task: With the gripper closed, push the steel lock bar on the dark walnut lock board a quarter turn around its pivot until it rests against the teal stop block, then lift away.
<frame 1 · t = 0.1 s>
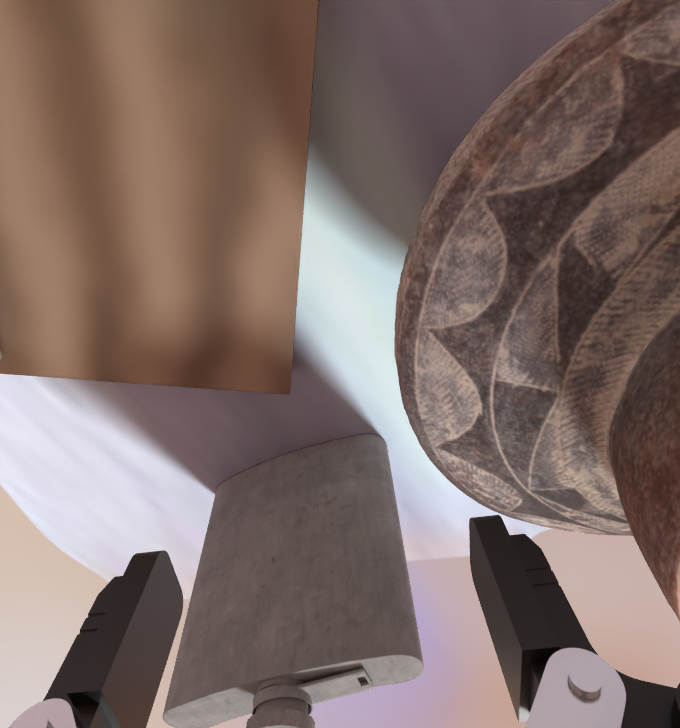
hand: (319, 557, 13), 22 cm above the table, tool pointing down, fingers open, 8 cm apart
ceramic pot: (560, 223, 31), on the table
hip flask: (297, 465, 42), on the table
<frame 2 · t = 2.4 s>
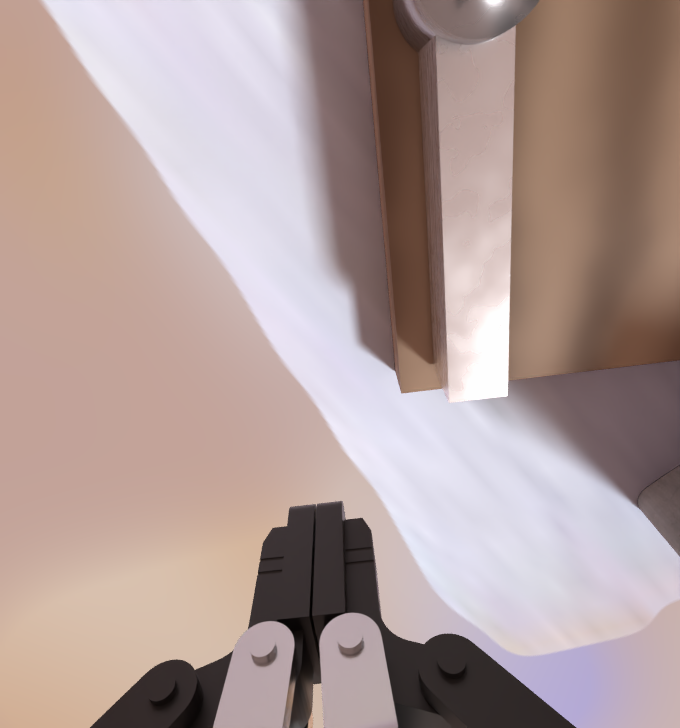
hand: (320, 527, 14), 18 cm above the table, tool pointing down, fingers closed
lock board: (435, 11, 24), on the table
lock bar: (468, 186, 22), point 6 cm above the table, hinge at -90.0°
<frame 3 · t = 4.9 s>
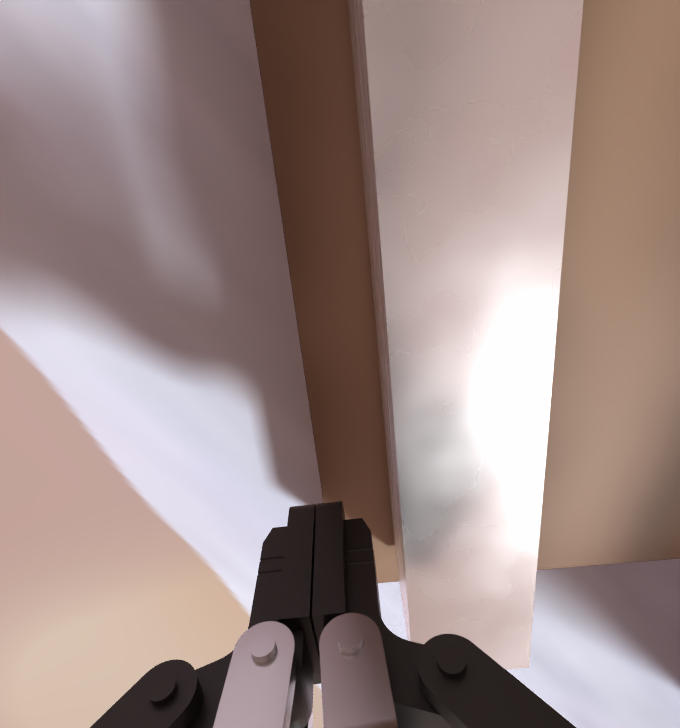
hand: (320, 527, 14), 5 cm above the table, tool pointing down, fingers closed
lock bar: (453, 273, 10), point 6 cm above the table, hinge at -89.4°, touching gripper
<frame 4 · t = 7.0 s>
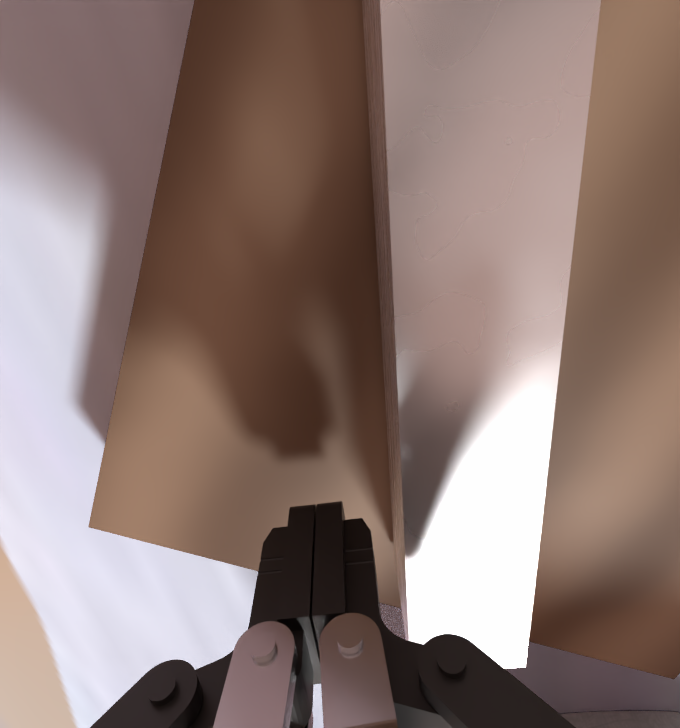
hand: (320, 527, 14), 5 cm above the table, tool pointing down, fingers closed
lock bar: (461, 273, 10), point 6 cm above the table, hinge at -64.3°, touching gripper
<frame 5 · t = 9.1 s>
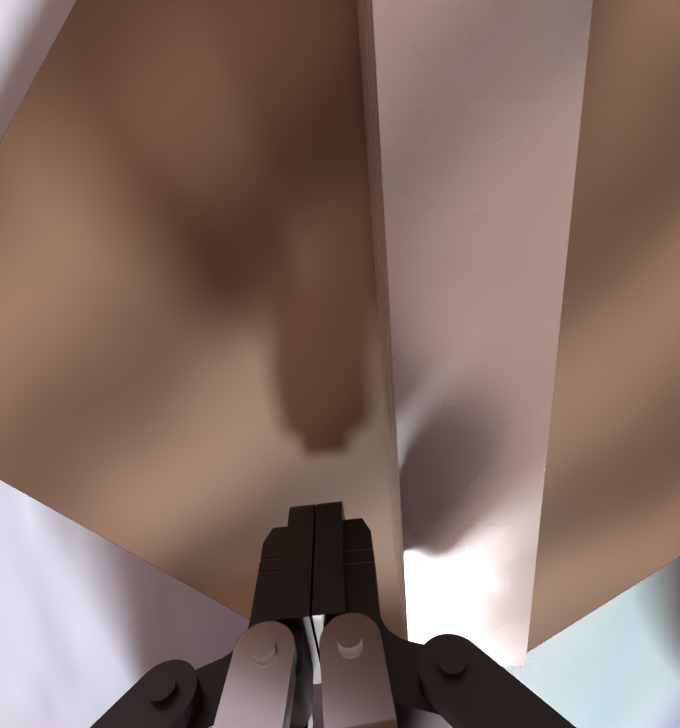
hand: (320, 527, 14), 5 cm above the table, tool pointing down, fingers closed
lock bar: (457, 271, 10), point 6 cm above the table, hinge at -42.9°, touching gripper
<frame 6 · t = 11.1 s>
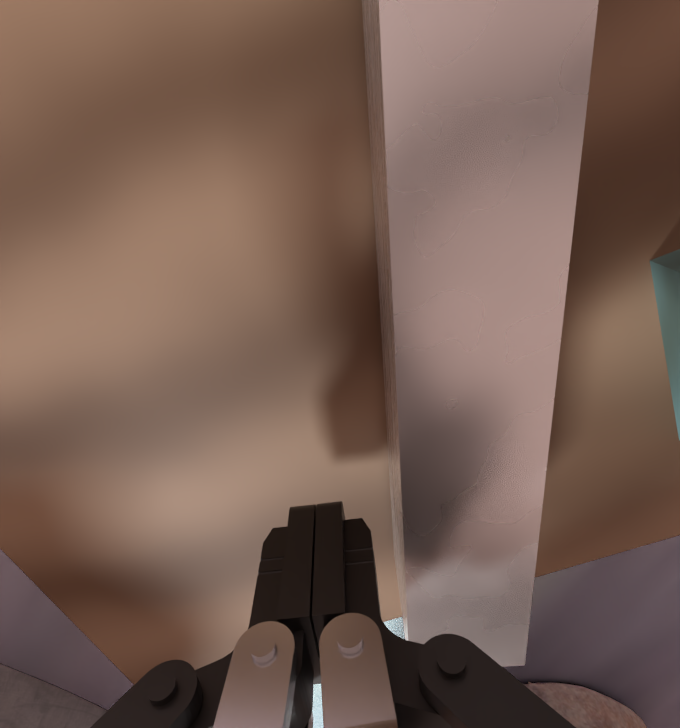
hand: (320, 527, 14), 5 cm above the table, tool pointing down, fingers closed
lock bar: (460, 271, 10), point 6 cm above the table, hinge at -18.3°, touching gripper
hip flask: (13, 687, 25), on the table
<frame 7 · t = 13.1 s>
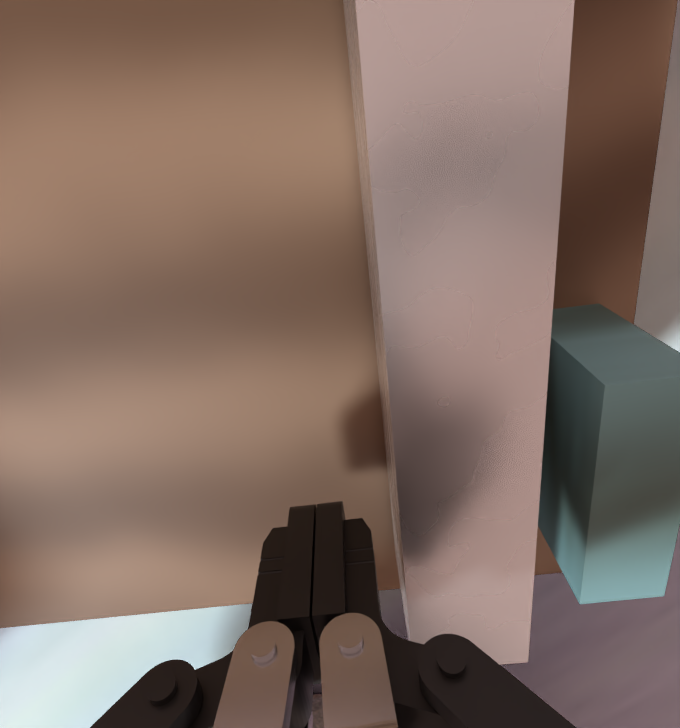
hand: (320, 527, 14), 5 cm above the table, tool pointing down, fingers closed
lock bar: (449, 268, 10), point 6 cm above the table, hinge at -0.5°, touching gripper
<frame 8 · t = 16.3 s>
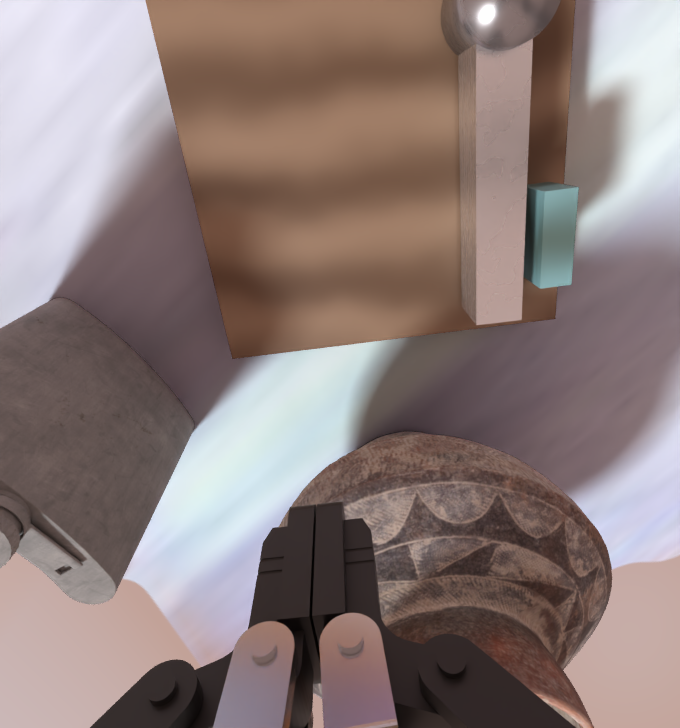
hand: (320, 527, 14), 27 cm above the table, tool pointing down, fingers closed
ceramic pot: (404, 482, 47), on the table
lock board: (468, 25, 31), on the table
lock bar: (494, 156, 29), point 6 cm above the table, hinge at -0.4°
hip flask: (128, 369, 41), on the table
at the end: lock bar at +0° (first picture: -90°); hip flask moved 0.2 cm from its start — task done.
